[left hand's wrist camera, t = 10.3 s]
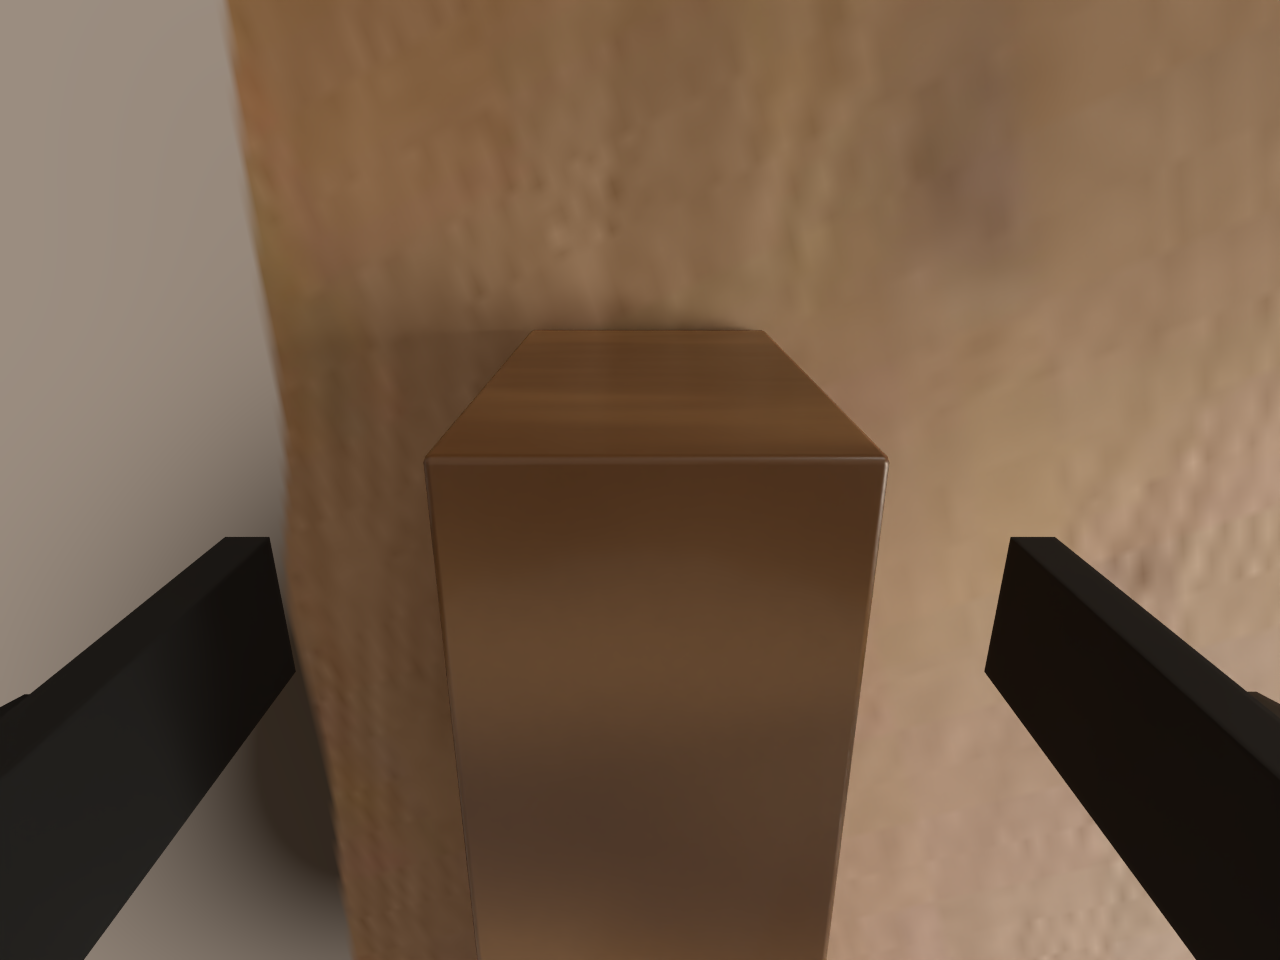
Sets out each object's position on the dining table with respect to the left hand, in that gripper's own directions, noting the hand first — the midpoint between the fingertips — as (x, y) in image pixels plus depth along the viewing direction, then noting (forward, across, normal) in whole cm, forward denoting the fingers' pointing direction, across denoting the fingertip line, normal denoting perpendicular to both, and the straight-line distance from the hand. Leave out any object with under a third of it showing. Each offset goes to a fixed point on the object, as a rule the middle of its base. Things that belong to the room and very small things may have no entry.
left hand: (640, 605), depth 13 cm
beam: (+4, 0, -22) cm, 22 cm away
